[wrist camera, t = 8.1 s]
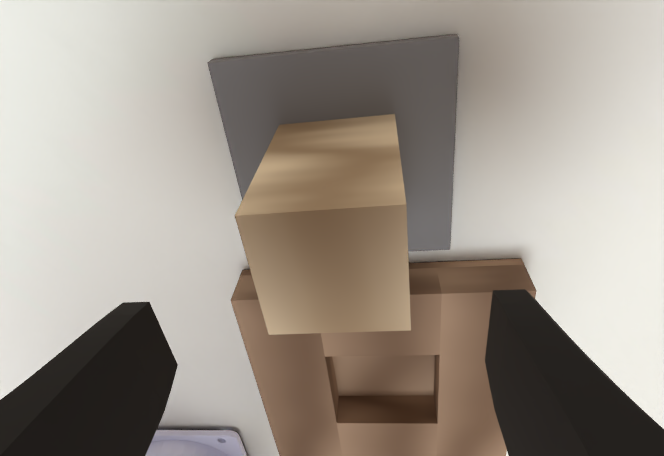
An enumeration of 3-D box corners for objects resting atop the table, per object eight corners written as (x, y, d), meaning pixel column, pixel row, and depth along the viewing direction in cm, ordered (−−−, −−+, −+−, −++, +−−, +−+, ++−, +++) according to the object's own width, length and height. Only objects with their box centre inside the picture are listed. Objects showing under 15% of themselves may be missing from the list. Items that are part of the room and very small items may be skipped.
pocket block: (286, 426, 26) (281, 460, 25) (242, 269, 20) (230, 300, 18) (495, 427, 25) (504, 463, 23) (521, 258, 18) (536, 290, 17)
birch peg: (298, 221, 18) (268, 334, 13) (279, 124, 15) (234, 215, 10) (399, 214, 17) (411, 330, 12) (394, 114, 15) (406, 203, 10)
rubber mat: (259, 251, 19) (257, 258, 19) (211, 59, 15) (207, 62, 14) (448, 242, 18) (450, 249, 18) (456, 34, 14) (459, 37, 13)
